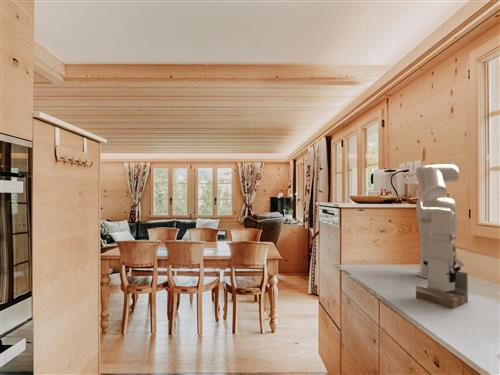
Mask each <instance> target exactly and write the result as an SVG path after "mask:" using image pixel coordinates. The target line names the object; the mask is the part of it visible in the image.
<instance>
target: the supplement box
mask: <svg viewBox="0 0 500 375" xmlns="http://www.w3.org/2000/svg"><path fill="white" fill-rule="evenodd" d="M453 264H455V261H454V263H453ZM454 266H455V267H456V265H454ZM450 273H451V270H450V269H449V266H448V261H445V260H439V259H433V258H428V279H427V287H428V288H431V289H435V290H438V291H441V292H447V291H452V290H455V282H453V283H450Z"/></svg>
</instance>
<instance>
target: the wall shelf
mask: <svg viewBox="0 0 500 375" xmlns="http://www.w3.org/2000/svg"><path fill="white" fill-rule="evenodd" d="M468 275H469V274H468V272H467V271H461V270H459V271H458V272H456V281H455V290H452V291H447V292H441V291H438V290H435V289H431V288H428V286H427V287H425V286H419V285H416V286H415V298H416V299H417V300H421V301H425V302H428V303H431V304H435V305H438V306H441V307H446V308H448V309H455V308H458V307H459V306H461V305H464V304H466V303H468V301H469V300H468V299H469V297H468V296H469V293H468V290H469V289H468V287H469V286H468V284H469V282H468V281H469V280H468V279H469V276H468Z"/></svg>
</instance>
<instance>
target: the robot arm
mask: <svg viewBox="0 0 500 375" xmlns="http://www.w3.org/2000/svg"><path fill="white" fill-rule="evenodd" d="M415 172H416V173H415V175H416V179H417V182H418V185H419V186H420V192H421V193H420V195H419V196H418V197H417V200H416V204H415V205H416V206H415V207H416V211H415V212H416V218H417V221H418V231H419V241H420V248H419V249H420V252H419V253H420V254H419V255H420V259H419V260H420V261H419V262H420V263H419V264H420V268H419V269H420V270H419V271H418V272H417V273H416V275H417V276H418V277H419V278H422V279H427V280H428V258H433V259H439V260H445V261H448V266H449V269H450V270H451V273H450V283H453V282H455V281H456V272H458V271H461V270H462V269H463V267H465V263H464V262H463V261H462V260H461V259H459V258H458V256H457V247H456V243H455V241H454V240H457V237H456V235H457V233H458V213H457V212H458V211H457V210H458V208H457V203H456V200H455V199H453V198H450V197H443V196H446V194H447V185H446V183H456V182H458V181H459V179H460V170H459V167H458V166H456V165H455V164H424V165H419V166H418V167H416V170H415ZM454 261H455V264H453V263H454ZM454 265H455V266H454ZM456 266H457V267H456Z"/></svg>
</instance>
